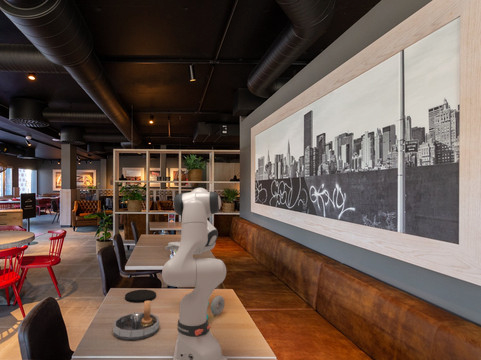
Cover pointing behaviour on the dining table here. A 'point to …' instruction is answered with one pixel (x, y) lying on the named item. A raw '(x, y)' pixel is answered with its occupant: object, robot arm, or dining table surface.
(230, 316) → the dining table surface
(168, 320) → the dining table surface
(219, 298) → the donut
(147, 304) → the peg on round base
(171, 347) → the dining table surface
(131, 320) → the bowl
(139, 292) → the wireless charger
